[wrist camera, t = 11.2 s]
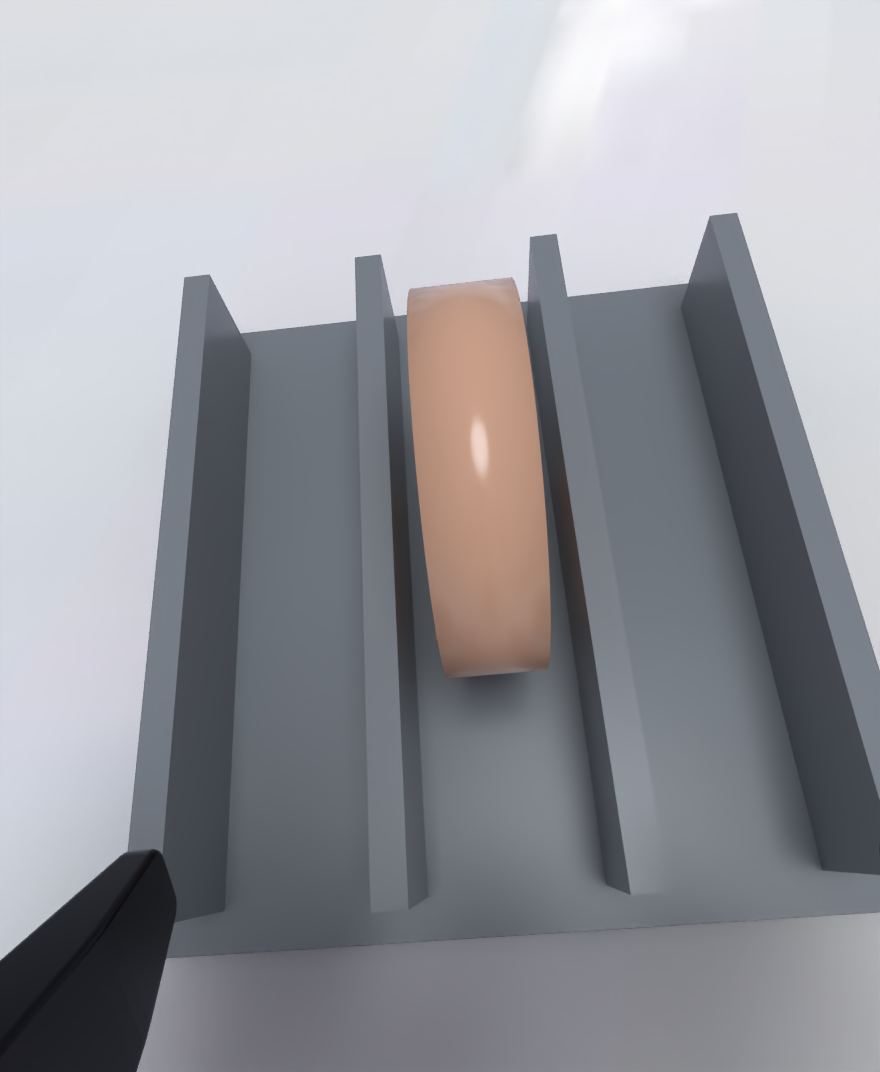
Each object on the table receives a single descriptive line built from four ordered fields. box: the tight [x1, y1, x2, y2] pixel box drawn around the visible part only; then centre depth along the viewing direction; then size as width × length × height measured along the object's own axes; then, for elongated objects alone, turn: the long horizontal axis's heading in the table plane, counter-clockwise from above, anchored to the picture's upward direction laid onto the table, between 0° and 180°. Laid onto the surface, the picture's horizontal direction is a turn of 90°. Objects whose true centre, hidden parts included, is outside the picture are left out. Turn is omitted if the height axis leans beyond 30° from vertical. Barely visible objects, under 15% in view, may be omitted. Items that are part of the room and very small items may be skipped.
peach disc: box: [407, 277, 551, 678], centre depth 18 cm, size 9×3×10 cm, turn 4°
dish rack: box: [128, 213, 880, 958], centre depth 21 cm, size 20×19×5 cm
